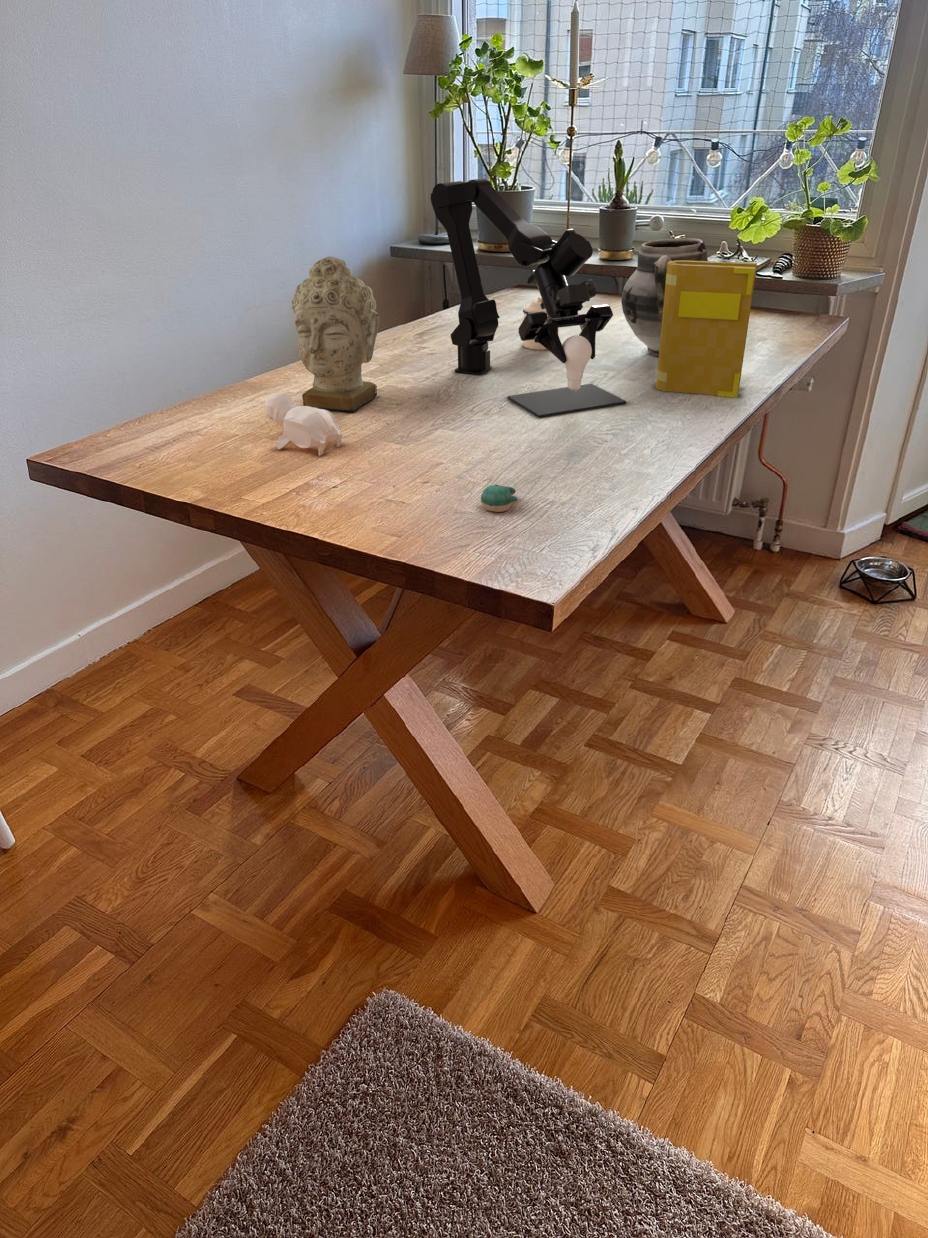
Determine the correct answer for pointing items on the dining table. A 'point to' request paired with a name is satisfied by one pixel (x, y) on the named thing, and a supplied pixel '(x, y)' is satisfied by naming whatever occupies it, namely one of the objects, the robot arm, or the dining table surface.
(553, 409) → the mat
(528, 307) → the teacup with lid
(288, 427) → the white turtle figurine
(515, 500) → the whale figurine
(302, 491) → the dining table surface
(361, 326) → the buddha head
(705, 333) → the book
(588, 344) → the lightbulb
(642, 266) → the ceramic pot
